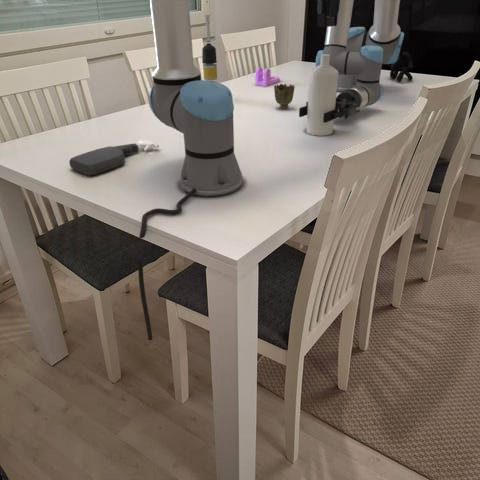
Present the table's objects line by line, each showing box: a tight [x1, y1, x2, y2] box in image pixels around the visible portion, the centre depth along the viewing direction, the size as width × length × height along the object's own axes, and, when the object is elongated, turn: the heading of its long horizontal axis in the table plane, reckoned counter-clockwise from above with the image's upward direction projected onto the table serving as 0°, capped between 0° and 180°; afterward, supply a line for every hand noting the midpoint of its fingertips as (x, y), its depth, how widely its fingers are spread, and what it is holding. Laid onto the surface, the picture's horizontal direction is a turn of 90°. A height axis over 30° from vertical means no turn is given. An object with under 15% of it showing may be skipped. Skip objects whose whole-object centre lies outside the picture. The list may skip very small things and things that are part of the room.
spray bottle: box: [68, 139, 160, 177], centre depth 124 cm, size 3×11×24 cm
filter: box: [201, 14, 218, 82], centre depth 171 cm, size 6×6×30 cm
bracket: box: [254, 66, 280, 87], centre depth 199 cm, size 13×6×7 cm, turn 143°
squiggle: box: [386, 51, 414, 83], centre depth 198 cm, size 11×10×15 cm
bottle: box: [305, 54, 338, 137], centre depth 137 cm, size 8×8×23 cm
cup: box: [273, 83, 296, 110], centre depth 163 cm, size 8×7×8 cm
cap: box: [325, 15, 335, 28], centre depth 126 cm, size 4×4×2 cm
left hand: (327, 26), depth 126 cm, fingers closed on cap, 4 cm apart
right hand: (312, 115), depth 137 cm, fingers closed on bottle, 8 cm apart
